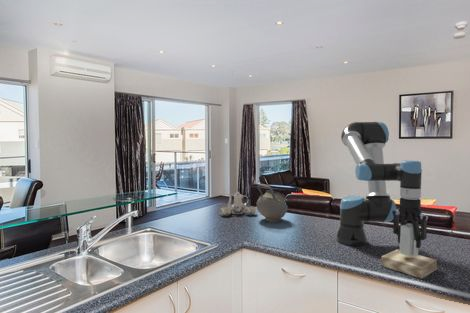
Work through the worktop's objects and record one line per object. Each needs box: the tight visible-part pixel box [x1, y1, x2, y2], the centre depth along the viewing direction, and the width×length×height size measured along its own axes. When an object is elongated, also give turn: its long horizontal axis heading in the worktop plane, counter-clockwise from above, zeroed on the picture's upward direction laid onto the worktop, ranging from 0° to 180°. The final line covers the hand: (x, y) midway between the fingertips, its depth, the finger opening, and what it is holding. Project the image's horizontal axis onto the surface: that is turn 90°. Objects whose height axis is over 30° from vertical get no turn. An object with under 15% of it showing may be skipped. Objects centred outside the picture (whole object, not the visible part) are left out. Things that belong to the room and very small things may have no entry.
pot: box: [256, 183, 288, 223], centre depth 208 cm, size 21×21×25 cm
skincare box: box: [399, 223, 416, 256], centre depth 130 cm, size 6×4×12 cm
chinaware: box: [219, 190, 259, 217], centre depth 226 cm, size 28×17×17 cm, turn 102°
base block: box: [380, 249, 438, 279], centre depth 130 cm, size 16×14×4 cm
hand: (408, 253), depth 130 cm, fingers closed on skincare box, 5 cm apart
